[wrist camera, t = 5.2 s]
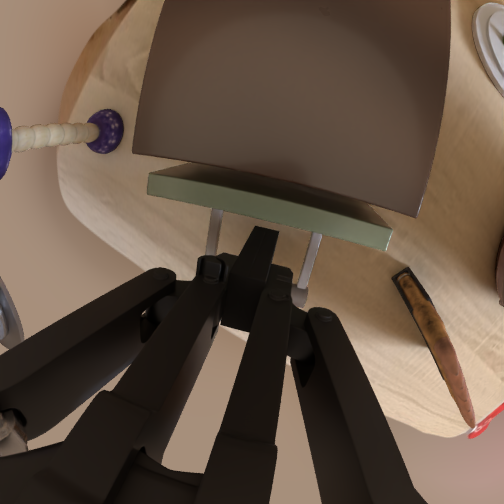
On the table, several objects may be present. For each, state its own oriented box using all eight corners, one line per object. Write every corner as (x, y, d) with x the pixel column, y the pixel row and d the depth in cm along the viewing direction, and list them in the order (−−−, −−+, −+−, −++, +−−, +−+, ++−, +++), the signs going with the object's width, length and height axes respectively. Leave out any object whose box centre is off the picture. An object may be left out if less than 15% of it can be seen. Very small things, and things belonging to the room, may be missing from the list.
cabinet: (370, 185, 20) (417, 219, 11) (198, 146, 21) (130, 153, 13) (402, 4, 14) (446, -50, 5) (238, -28, 15) (205, -93, 6)
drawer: (335, 281, 23) (347, 343, 16) (187, 245, 24) (141, 290, 17) (396, 28, 14) (434, -14, 7) (235, -5, 15) (205, -57, 8)
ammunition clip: (443, 339, 24) (484, 426, 13) (429, 349, 25) (465, 437, 14) (408, 265, 22) (467, 357, 11) (391, 277, 23) (440, 375, 12)
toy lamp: (121, 98, 21) (-48, 95, 5) (135, 144, 22) (-40, 178, 7) (85, 121, 22) (-69, 143, 7) (97, 164, 23) (-59, 213, 8)
